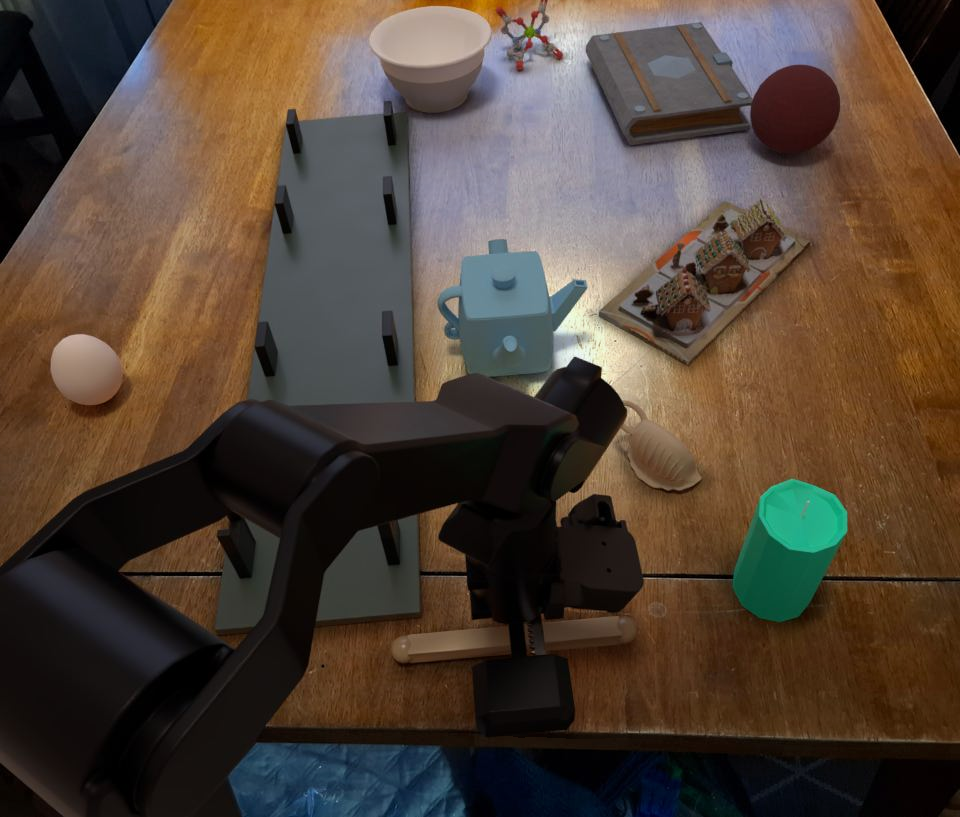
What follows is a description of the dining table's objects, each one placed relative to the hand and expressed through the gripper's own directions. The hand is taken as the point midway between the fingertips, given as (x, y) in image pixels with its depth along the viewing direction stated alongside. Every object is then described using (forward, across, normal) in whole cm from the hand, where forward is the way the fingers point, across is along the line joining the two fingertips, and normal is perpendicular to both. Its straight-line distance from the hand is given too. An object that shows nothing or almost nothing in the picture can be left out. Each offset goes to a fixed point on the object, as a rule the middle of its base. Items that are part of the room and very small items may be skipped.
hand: (514, 643), depth 65 cm
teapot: (0, +31, -3) cm, 31 cm away
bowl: (+1, +80, +3) cm, 80 cm away
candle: (0, +3, -20) cm, 21 cm away
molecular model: (+1, +88, -11) cm, 89 cm away
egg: (0, +30, +38) cm, 48 cm away
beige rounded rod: (0, 0, 0) cm, 0 cm away
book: (+1, +75, -27) cm, 79 cm away
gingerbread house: (0, +39, -24) cm, 46 cm away
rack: (0, +39, +15) cm, 42 cm away
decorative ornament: (0, +16, -14) cm, 21 cm away
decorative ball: (0, +61, -39) cm, 72 cm away
